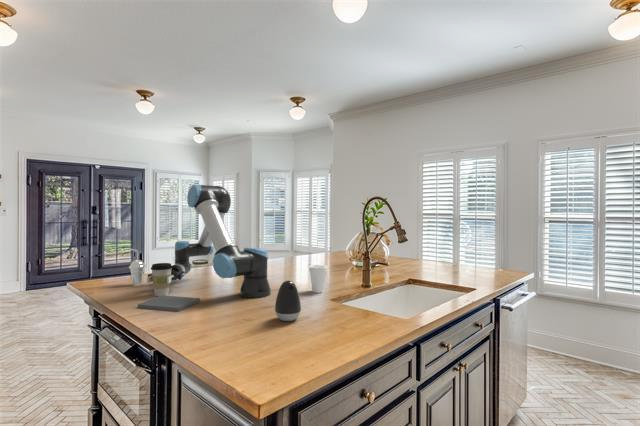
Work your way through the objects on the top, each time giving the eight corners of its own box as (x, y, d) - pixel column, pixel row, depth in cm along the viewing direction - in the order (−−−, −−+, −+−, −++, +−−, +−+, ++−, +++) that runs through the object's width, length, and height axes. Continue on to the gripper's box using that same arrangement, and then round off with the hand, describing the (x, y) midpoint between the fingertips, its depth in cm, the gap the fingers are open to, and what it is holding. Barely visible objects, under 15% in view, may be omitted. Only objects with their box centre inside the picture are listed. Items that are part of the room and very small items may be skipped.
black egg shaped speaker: (280, 325, 130) (280, 284, 129) (271, 317, 139) (271, 279, 139) (305, 321, 134) (305, 282, 134) (294, 313, 144) (295, 277, 143)
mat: (200, 301, 161) (200, 298, 161) (178, 311, 145) (178, 307, 145) (162, 298, 165) (162, 295, 165) (137, 307, 150) (137, 304, 150)
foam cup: (330, 290, 184) (330, 266, 183) (321, 294, 176) (321, 268, 176) (315, 288, 189) (315, 264, 188) (305, 291, 181) (305, 266, 181)
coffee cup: (167, 297, 167) (167, 266, 167) (146, 297, 168) (146, 265, 167) (175, 292, 177) (175, 262, 177) (156, 292, 177) (156, 262, 177)
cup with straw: (132, 287, 187) (132, 250, 186) (125, 284, 193) (125, 248, 193) (148, 284, 193) (148, 248, 193) (141, 282, 199) (141, 247, 199)
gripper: (195, 278, 191) (180, 288, 168) (155, 278, 190) (134, 288, 167) (195, 264, 190) (180, 272, 168) (155, 264, 190) (134, 272, 167)
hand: (157, 280), depth 168 cm, fingers open, 9 cm apart
